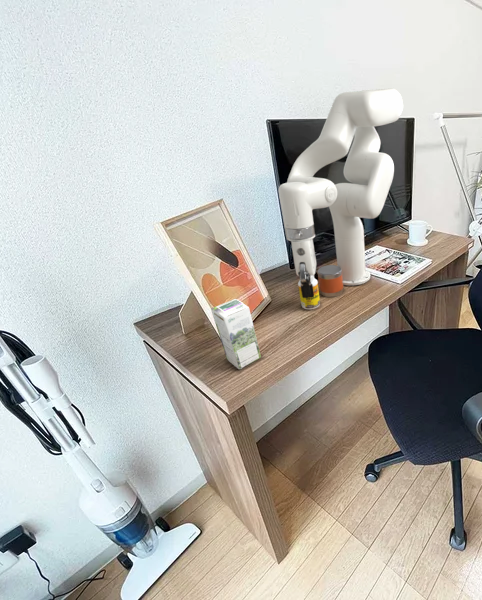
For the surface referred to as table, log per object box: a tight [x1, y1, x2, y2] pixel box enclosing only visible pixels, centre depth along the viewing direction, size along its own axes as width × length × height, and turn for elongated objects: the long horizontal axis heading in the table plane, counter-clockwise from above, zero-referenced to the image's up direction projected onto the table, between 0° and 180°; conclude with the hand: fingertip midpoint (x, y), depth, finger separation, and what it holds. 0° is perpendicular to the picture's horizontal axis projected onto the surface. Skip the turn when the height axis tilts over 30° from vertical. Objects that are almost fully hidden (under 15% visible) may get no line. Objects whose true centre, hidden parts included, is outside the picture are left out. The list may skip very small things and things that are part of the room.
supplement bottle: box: [297, 272, 321, 311], centre depth 95 cm, size 6×6×10 cm
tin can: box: [317, 264, 344, 298], centre depth 103 cm, size 8×8×8 cm
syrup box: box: [210, 298, 262, 371], centre depth 73 cm, size 6×6×14 cm
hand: (309, 291), depth 95 cm, fingers closed on supplement bottle, 5 cm apart
